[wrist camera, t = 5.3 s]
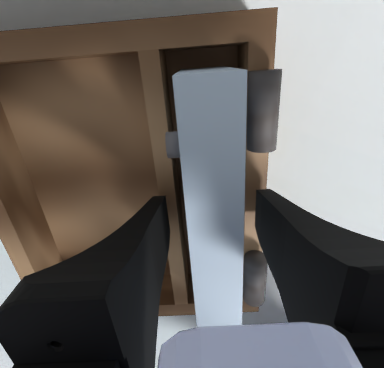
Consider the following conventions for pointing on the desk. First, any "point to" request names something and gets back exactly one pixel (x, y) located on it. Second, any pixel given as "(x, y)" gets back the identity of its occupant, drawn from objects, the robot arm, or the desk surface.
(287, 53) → the desk surface
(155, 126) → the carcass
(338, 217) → the desk surface
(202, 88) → the door
